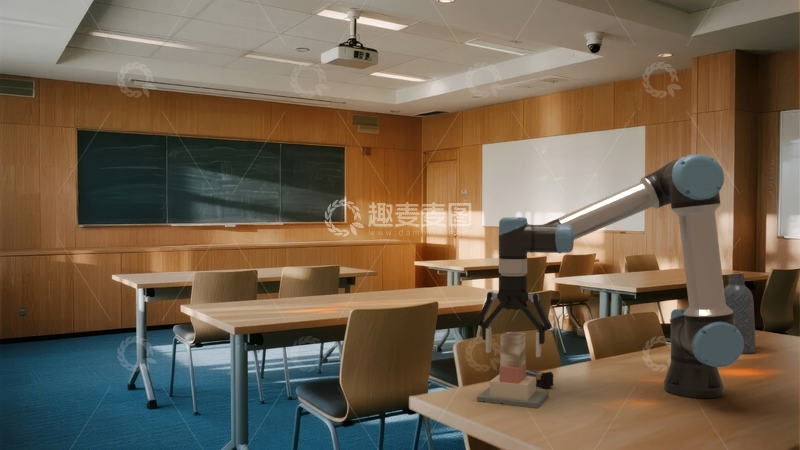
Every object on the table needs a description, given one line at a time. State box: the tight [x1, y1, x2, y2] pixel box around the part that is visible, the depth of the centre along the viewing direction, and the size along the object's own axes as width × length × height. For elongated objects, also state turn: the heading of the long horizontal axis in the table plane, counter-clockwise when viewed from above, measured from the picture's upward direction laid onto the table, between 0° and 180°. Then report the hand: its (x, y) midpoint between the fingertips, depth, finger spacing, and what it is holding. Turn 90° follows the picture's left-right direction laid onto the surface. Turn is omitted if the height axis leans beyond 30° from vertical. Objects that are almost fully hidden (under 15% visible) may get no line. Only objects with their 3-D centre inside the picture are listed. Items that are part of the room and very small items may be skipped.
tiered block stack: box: [476, 361, 549, 409], centre depth 170 cm, size 16×13×9 cm
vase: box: [724, 274, 757, 355], centre depth 235 cm, size 12×12×28 cm
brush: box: [526, 369, 554, 388], centre depth 186 cm, size 6×4×15 cm
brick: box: [499, 331, 526, 368], centre depth 170 cm, size 5×7×8 cm
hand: (513, 354), depth 170 cm, fingers open, 13 cm apart
